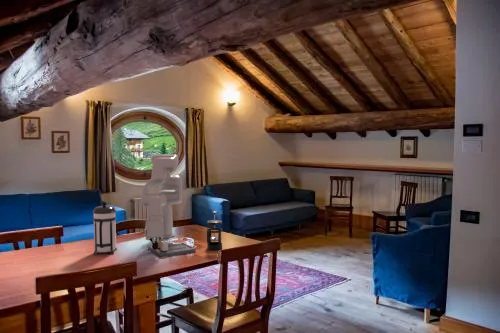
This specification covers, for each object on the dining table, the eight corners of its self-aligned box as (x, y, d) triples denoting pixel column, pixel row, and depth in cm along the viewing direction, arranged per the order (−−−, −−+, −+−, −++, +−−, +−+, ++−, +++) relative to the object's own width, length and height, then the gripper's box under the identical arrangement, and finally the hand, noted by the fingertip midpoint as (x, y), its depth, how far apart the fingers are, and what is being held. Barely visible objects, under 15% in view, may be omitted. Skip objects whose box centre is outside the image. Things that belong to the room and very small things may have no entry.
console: (147, 250, 257) (147, 245, 256) (181, 245, 269) (181, 240, 268) (160, 257, 240) (160, 252, 240) (195, 252, 252) (195, 247, 252)
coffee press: (85, 253, 250) (84, 202, 248) (110, 247, 262) (109, 199, 260) (100, 258, 238) (99, 205, 236) (125, 252, 250) (124, 202, 248)
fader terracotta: (155, 246, 255) (155, 238, 255) (160, 245, 257) (160, 237, 256) (158, 248, 252) (158, 239, 251) (162, 247, 253) (162, 238, 253)
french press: (226, 248, 259) (226, 211, 258) (214, 251, 252) (214, 213, 251) (213, 245, 267) (213, 209, 266) (202, 248, 261) (201, 211, 259)
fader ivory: (160, 249, 248) (160, 240, 248) (165, 248, 250) (165, 240, 250) (163, 251, 245) (163, 242, 245) (168, 250, 247) (168, 241, 246)
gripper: (164, 215, 250) (165, 246, 252) (139, 217, 242) (140, 249, 243) (169, 217, 244) (169, 248, 245) (144, 219, 236) (144, 252, 237)
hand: (155, 249), depth 244 cm, fingers closed
